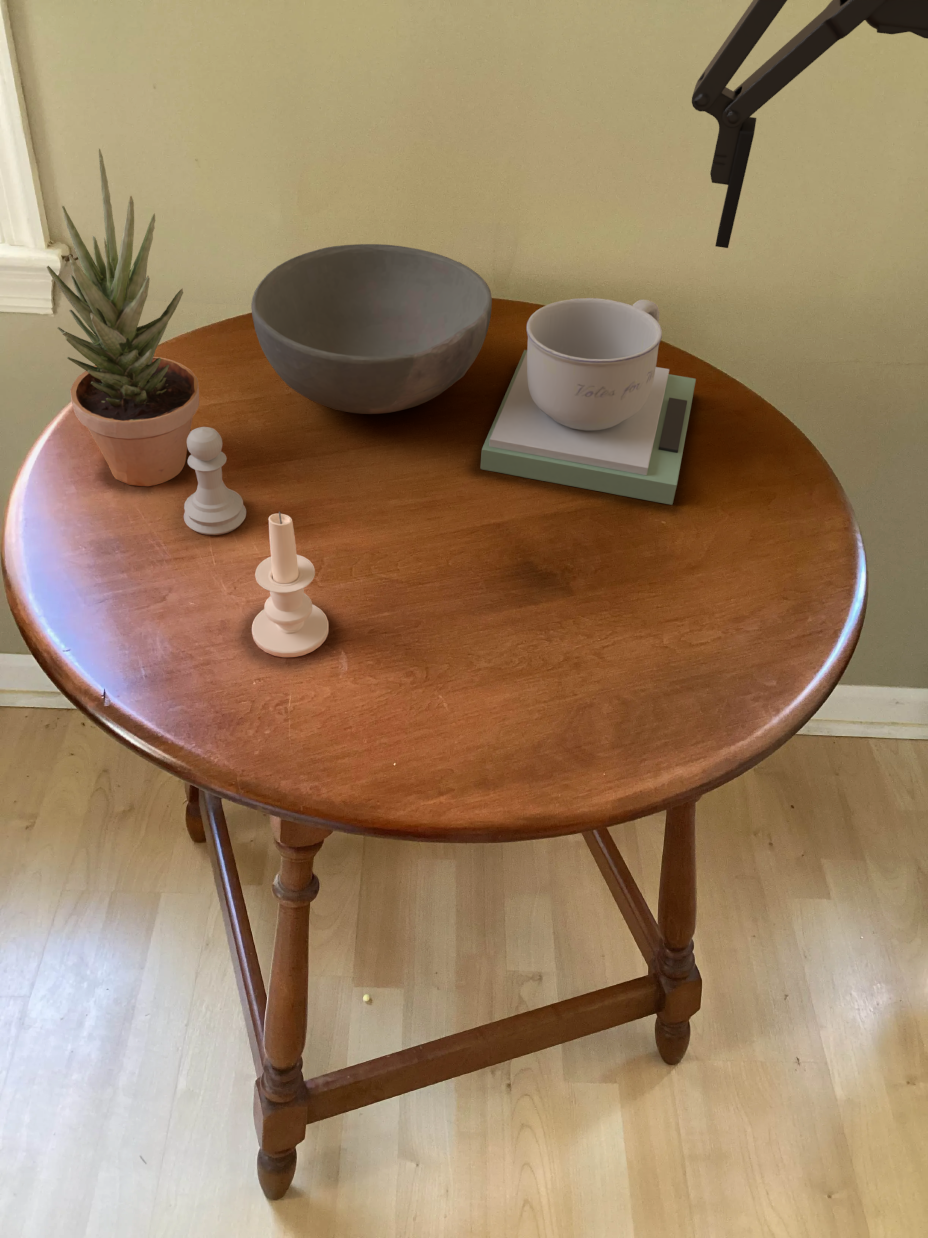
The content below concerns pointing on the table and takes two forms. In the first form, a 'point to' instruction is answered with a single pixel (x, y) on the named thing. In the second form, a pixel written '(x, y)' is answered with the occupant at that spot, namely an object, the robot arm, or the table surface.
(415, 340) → the bowl
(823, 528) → the table surface
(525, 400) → the scale
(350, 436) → the table surface
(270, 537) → the candle
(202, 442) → the chess piece
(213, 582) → the table surface
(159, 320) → the potted plant
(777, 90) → the robot arm
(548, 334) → the teacup
